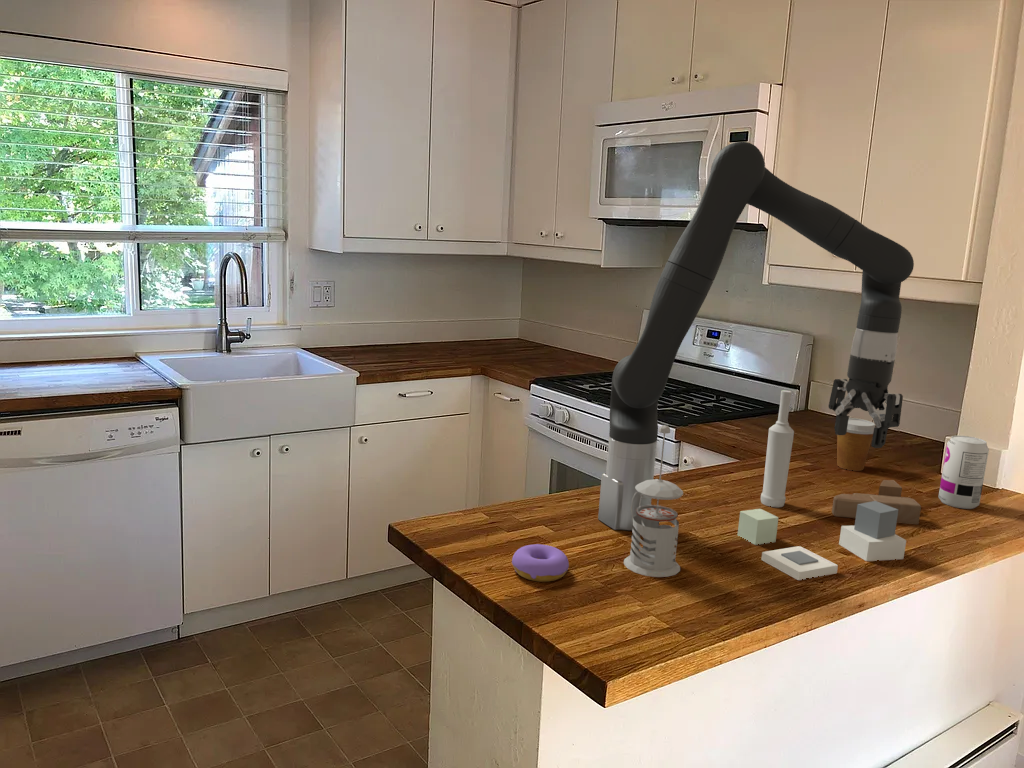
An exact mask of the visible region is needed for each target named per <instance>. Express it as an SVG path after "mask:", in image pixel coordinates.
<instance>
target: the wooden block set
mask: <svg viewBox="0 0 1024 768" xmlns="http://www.w3.org/2000/svg"><path fill="white" fill-rule="evenodd" d="M902 491H903V487H902V486H901V485H900V484H899V483H898V482H896V481H895V480H894V479H883V480H882V481H881V483H880V485H879V487H878V494H869V493H858V492H856V493H855V492H854V493H852V494H850V493H841V494H837V495H835V496H834V497H833V501H832V508H831V513H832V515H833V516H834V517H839V518H850V519H856V512H857V504H862V503H867V502H872V501H877V502H880V503H882V504H885V505H888V506H890V507H893V508H896V509H898V516H897V523H899V524H905V525H906V524H907V525H919V522H920V516H921V510H922V505H920V503H919V502H917V501H916V500H915V499H914V498H912V497H904V496H902ZM897 523H896V524H897Z"/></svg>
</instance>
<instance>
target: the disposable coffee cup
mask: <svg viewBox="0 0 1024 768" xmlns="http://www.w3.org/2000/svg"><path fill="white" fill-rule="evenodd" d="M874 427H876V425H875V423H874V421H870V420H867V419H862V418H856V417H849V420H848V426H847V432H846V434H845V435H837V434H836V436H837V437H836V448H837V450H836V454H837V455H836V458H837V459H836V462H837V463H836V466H837V467H838V466H839V468H841V469H843V470H846V469H847V470H848V471H852V470H853V471H855V472H857V471H859V472H860V471H863V470H864V469H865V465H866V462H867V458H868V453H869V450H870V447H871V444H872V438H873V432H874ZM847 470H846V471H847Z"/></svg>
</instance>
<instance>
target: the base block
mask: <svg viewBox="0 0 1024 768" xmlns="http://www.w3.org/2000/svg"><path fill="white" fill-rule="evenodd" d="M854 527H855V524H854V525H841V527H840V535H839V542H838V545H839V546H841V547H842V548H844V549H845V550H847V551H849V552H850V553H852V554H854V555H855V556H857V557H858V558H860V559H862V560H864V561H865V562H875V561H876V562H877V560H879V561H893V560H894V561H895V559H896V560H904V557H905V552H906V545H907V540H906V538H903V537H901V536H899V535H898V534H896V533H895V535H892V536H888V537H883V538H879V539H876V538H873V537H871V536H868V535H866V534H864V533H861V532H859V531H857V530H854Z"/></svg>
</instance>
